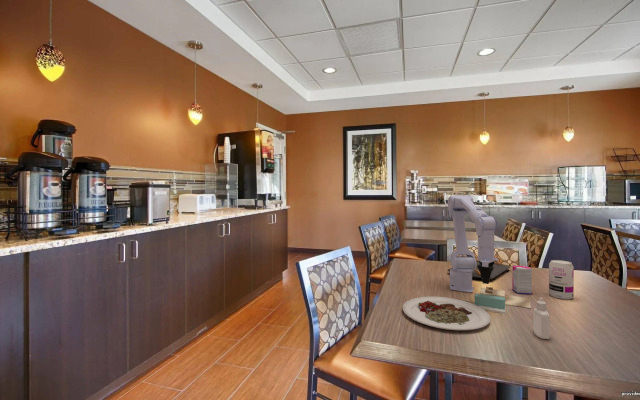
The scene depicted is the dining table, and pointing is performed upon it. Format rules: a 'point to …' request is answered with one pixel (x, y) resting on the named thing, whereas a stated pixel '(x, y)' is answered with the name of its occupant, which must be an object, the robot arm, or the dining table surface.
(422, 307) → the plated food
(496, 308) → the grey tile
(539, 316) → the eye dropper bottle
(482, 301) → the teal bar
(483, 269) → the robot arm
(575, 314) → the dining table surface
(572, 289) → the supplement can
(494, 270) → the serving board
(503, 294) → the board
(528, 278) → the supplement box
